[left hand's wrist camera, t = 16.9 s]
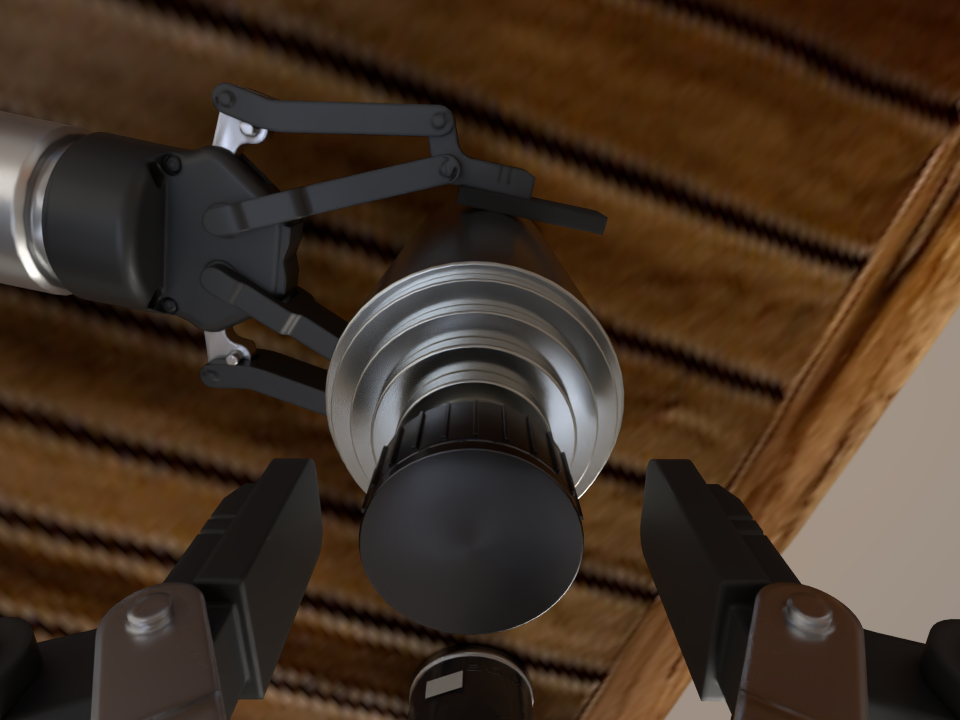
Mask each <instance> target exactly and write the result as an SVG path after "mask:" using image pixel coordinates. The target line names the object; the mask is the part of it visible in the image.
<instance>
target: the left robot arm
mask: <svg viewBox="0 0 960 720" xmlns="http://www.w3.org/2000/svg"><path fill="white" fill-rule="evenodd" d="M640 535H641V545H642V551H643V555H644V558H645V560H646V563H647V565H648V568H649V570H650V573H651V576H652V578H653V581H654V583H655V586H656V588H657V591H658V593H659V596H660V598H661V601H662V603H663V606H664V608H665V611H666V613H667V616H668V618H669V621H670V623H671V626H672V628H673V631H674V633H675V636H676V639H677V641H678V644H679V646H680V649H681V651H682V654H683V656H684V659H685V661H686V664H687V666H688V669H689V671H690V674H691V676H692V679H693V681H694V684H695V686H696V689H697V691H698V694H699V697H700V699H701V701H726V703H727V705H728V707H729V709H730V712H731V714H732V716H731V720H960V619H949V620H943V621H940V622H937V623H936V624H935V625H933V627H932V628H931V630H930V632H929V635H928V638H927V641H926V644H924V643H919V642H915V641H911V640H906V639H902V638H898V637H894V636H889V635H885V634H880V633H876V632H873V631H869V630H865V629H863V628H862V625H861V623H860V621H859V620H858V618H857V617H856V616H855V614H854V613H853V612H852V611H851V610H850V609H849V608H848V607H846V606H845V605H844V604H843V603H842V602H840V601H839V600H837V599H836V598H834V597H832V596H831V595H829V594H827V593H825V592H823V591H821V590H818V589H816V588H813V587H810V586H806V585H803V584H801V583H800V581H799V580H798V579H797V577H796V576H795V575H794V573H793V572H792V570H791V569H790V568H789V566H788V565H787V564H786V562H785V561H784V559H783V558H782V557H781V555H780V554H779V553H778V551H777V550H776V548H775V547H774V546H773V544H772V543H771V542H770V540H769V539H768V537H767V536H766V535H763V531H762V529H761V528H760V526H759V525H758V524H757V522H756V521H755V520H753V519H752V516H751V514H750V513H749V511H748V510H747V509H746V507H745V506H744V505H743V503H742V502H741V500H740V499H739V498H737V497H736V496H734V495H733V494H731V493H730V492H729V491H727V490H726V489H724V488H723V487H721V486H720V485H718V484H706V483H705V481H704V480H703V478H702V477H701V475H700V474H699V472H698V470H697V469H696V467H695V466H694V464H693V463H692V462H691V461H690V460H688V459H652V460H650V461H649V464H648V467H647V473H646V482H645V490H644V499H643V508H642V517H641V527H640ZM321 544H322V517H321V508H320V499H319V490H318V481H317V472H316V466H315V463H314V461H313V459H273V460H272V461H271V463H270V464H269V466H268V467H267V469H266V470H265V472H264V473H263V475H262V476H261V478H260V479H259V481H258V482H257V483H245V484H244V485H242V486H241V487H239V488H238V489H237V490H235V491H234V492H232V493H231V494H229V495H228V496H227V497H225V498H224V499H223V500H222V502H221V503H220V504H219V506H218V507H217V509H216V510H215V511H214V513H213V514H212V516H211V519H209V520H208V521H207V522H206V524H205V525H204V527H203V528H202V529H201V533H200V534H198V535H197V536H196V538H195V539H194V541H193V542H192V543H191V545H190V546H189V547H188V549H187V550H186V552H185V553H184V554H183V556H182V557H181V559H180V560H179V561H178V563H177V564H176V565H175V567H174V568H173V570H172V571H171V572H170V574H169V575H168V577H167V578H166V579H165V581H164V582H163V583H162V584H157V585H154V586H150V587H147V588H144V589H142V590H139V591H137V592H135V593H133V594H131V595H129V596H128V597H126V598H124V599H123V600H121V601H120V602H118V603H117V604H116V605H115V606H114V607H112V608H111V609H110V610H109V611H108V612H107V613H106V614H105V616H104V617H103V618H102V620H101V621H100V623H99V625H98V627H97V629H94V630H90V631H86V632H82V633H77V634H73V635H69V636H64V637H60V638H56V639H51V640H47V641H43V642H38V643H37V641H36V639H35V636H34V633H33V630H32V627H31V626H30V624H29V623H28V622H26V621H25V620H22V619H20V618H14V617H1V618H0V720H230V718H231V716H232V713H233V711H234V709H235V706H236V704H237V702H238V699H263V698H264V695H265V693H266V690H267V687H268V685H269V682H270V680H271V677H272V675H273V672H274V670H275V667H276V664H277V662H278V659H279V657H280V654H281V652H282V649H283V646H284V644H285V641H286V639H287V636H288V634H289V631H290V629H291V626H292V623H293V621H294V618H295V616H296V613H297V611H298V608H299V605H300V603H301V600H302V598H303V595H304V593H305V590H306V588H307V585H308V582H309V580H310V577H311V575H312V572H313V570H314V567H315V565H316V562H317V559H318V557H319V553H320V549H321ZM408 720H534V715H533V690H532V683H531V680H530V677H529V675H528V673H527V671H526V670H525V669H524V667H523V666H522V665H521V664H520V663H519V662H518V661H517V660H515V659H514V658H513V657H511V656H509V655H508V654H506V653H504V652H502V651H499V650H496V649H493V648H489V647H484V646H474V645H467V646H458V647H453V648H449V649H446V650H443V651H441V652H438V653H436V654H434V655H433V656H431V657H430V658H428V659H427V660H426V661H424V662H423V663H422V664H421V665H420V667H419V668H418V669H417V671H416V672H415V674H414V676H413V678H412V681H411V686H410V694H409V713H408Z"/></svg>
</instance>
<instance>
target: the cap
mask: <svg viewBox="0 0 960 720" xmlns="http://www.w3.org/2000/svg"><path fill="white" fill-rule="evenodd" d="M361 512H363V513H364V514H363V517H362V520H361V524H360V531H359V550H360V556H361V561H362V564H363V567H364V570H365V572H366V574H367V576H368V578H369V580H370V582H371V584H372V585H373V587H374V588H375V590H376V591H377V592H378V594H379V595H380V596H381V597H382V598H383V599H384V600H385V601H386V602H387V603H388V604H389V605H390V606H391V607H393V608H394V609H395V610H396V611H398V612H399V613H401V614H402V615H404V616H405V617H407V618H409V619H410V620H412V621H414V622H416V623H418V624H421V625H423V626H426V627H429V628H431V629H435V630H439V631H443V632H448V633H454V634H466V635H478V634H490V633H496V632H501V631H505V630H509V629H513V628H515V627H518V626H521V625H523V624H526V623H527V622H529V621H531V620H533V619H535V618H537V617H539V616H540V615H542V614H543V613H545V612H546V611H548V610H549V609H550V608H551V607H552V606H553V605H555V604H556V603H557V602H558V601H559V600H560V599H561V597H562V596H563V595H564V594H565V593H566V592H567V590H568V589H569V587H570V586H571V584H572V583H573V581H574V579H575V577H576V575H577V573H578V570H579V567H580V564H581V561H582V556H583V549H584V534H583V528H582V522H581V520H583V515H582V511H581V507H580V504H579V500H578V496H577V493H576V489H575V485H574V482H573V478H572V475H571V473H570V469H569V465H568V462H567V458H566V454H565V452H562V453H561V451H560V449H559V447H558V445H557V444H556V443H555V441H554V440H553V436H552V433H551V432H550V431H549V432H546V430H545V429H544V428H543V427H541V426H540V425H539V424H538V423H536V422H535V421H534V420H532V416H530V415H528V416H526V415H525V414H523V413H520V412H518V411H516V410H514V409H511V408H508V407H507V405H506V404H502V405H499V404H495V403H488V402H479V400H476V399H475V400H474V401H464V402H463V401H461V402H456V403H451V404H450V402H446V405H443V406H439V407H436V408H433V409H430V410H428V411H426V412H424V411H421V412H420V413H419V416H417V417H415V418H414V419H412V420H411V421H409V422H408V423H407V424H406V425H405V426H403V427H402V426H400V427H399V428H398V430H397V433H396V435H395V436H394V437H393V438H392V440H391V441H390V442H389V444H388V445H387V446H385V445H384V447H383V449H382V452H381V455H380V458H379V461H378V464H377V467H376V468H375V469H374V472H373V475H372V478H371V481H370V484H369V488H368V491H367V494H366V497H365V500H364V503H363V506H362V509H361Z"/></svg>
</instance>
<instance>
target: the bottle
mask: <svg viewBox="0 0 960 720" xmlns="http://www.w3.org/2000/svg"><path fill="white" fill-rule="evenodd" d="M456 203H457V199H454V200H451V201H449V202H447V203H445V204H443V205H441V206H440V207H438V208H437V209H436V210H434V211H433V212H432V213H431V214H430V215H429V216H428V217H427V218H426V219H425V220H424V221H423V222H422V224H421V225H420V226H419V228H418V229H417V230H416V232H415V233H414V234H413V236H412V237H411V239H410V240H409V241H408V243H407V244H406V245H405V247H404V248H403V249H402V251H401V252H400V253H399V255H398V256H397V257H396V259H395V260H394V262H393V263H392V264H391V266H390V267H389V268H388V270H387V271H386V272H385V274H384V275H383V276H382V278H381V279H380V281H379V282H378V283H377V285H376V286H375V287H374V289H373V290H372V291H371V293H370V294H369V295H368V297H367V298H366V300H365V301H364V302H363V304H362V305H361V306H360V308H359V309H358V310H357V312H356V313H355V314H354V316H353V317H352V318H351V320H350V321H349V323H348V324H347V326H346V328H345V329H344V331H343V332H342V334H341V336H340V337H339V339H338V342H337V344H336V346H335V349H334V351H333V353H332V356H331V360H330V363H329V367H328V371H327V376H326V386H325V410H326V415H327V421H328V427H329V430H330V433H331V436H332V439H333V442H334V445H335V447H336V449H337V451H338V453H339V455H340V457H341V459H342V461H343V463H344V464H345V466H346V468H347V469H348V471H349V472H350V474H351V475H352V477H353V478H354V480H355V481H356V483H357V484H358V485H359V486H360V487H361V489H362V490H363V491H364V492H365V493H366V494H367V491H368V488H369V484H370V481H371V478H372V475H373V472H374V469H375V468H376V467H377V464H378V461H379V458H380V455H381V452H382V449H383V447H384V445H385V446H387V445H388V444H389V442H390V441H391V440H392V438H393V437H394V436H395V435H396V433H397V430H398V428H399V427H400V426H402V427H403V426H405V425H406V424H407V423H408V422H409V421H411V420H412V419H414V418H415V417H417V416H419V413H420V412H421V411H424V412H426V411H428V410H430V409H433V408H436V407H439V406H443V405H446V402H450V404H451V403H456V402H461V401H463V402H464V401H474V400H475V399H476V400H479V402H488V403H495V404H499V405H502V404H506V405H507V407H508V408H511V409H514V410H516V411H518V412H520V413H523V414H525V415H526V416H528V415H530V416H532V420H534V421H535V422H536V423H538V424H539V425H540V426H541V427H543V428H544V429H545V430H546V432H549V431H550V432H551V433H552V436H553V440H554V441H555V443H556V444H557V445H558V447H559V449H560V451H561V453H562V452H565V454H566V458H567V462H568V465H569V469H570V473H571V475H572V478H573V482H574V485H575V489H576V493H577V496H578V499H579V498H580V497H581V496H582V495H583V494H584V493H585V491H586V490H587V489H588V488H589V487H590V486H591V484H592V483H593V482H594V481H595V479H596V477H597V476H598V475H599V473H600V472H601V470H602V468H603V467H604V465H605V464H606V462H607V461H608V459H609V457H610V455H611V452H612V450H613V448H614V446H615V444H616V441H617V438H618V435H619V431H620V428H621V424H622V418H623V412H624V384H623V376H622V371H621V367H620V364H619V360H618V356H617V353H616V351H615V349H614V347H613V344H612V342H611V340H610V338H609V336H608V334H607V333H606V331H605V330H604V328H603V327H602V325H601V323H600V322H599V320H598V319H597V317H596V316H595V314H594V313H593V311H592V310H591V308H590V307H589V305H588V304H587V302H586V301H585V299H584V298H583V296H582V295H581V293H580V292H579V290H578V289H577V287H576V286H575V284H574V283H573V281H572V280H571V278H570V277H569V275H568V274H567V272H566V271H565V269H564V267H563V266H562V264H561V263H560V261H559V260H558V258H557V257H556V255H555V254H554V252H553V251H552V249H551V248H550V246H549V245H548V243H547V242H546V240H545V239H544V237H543V236H542V234H541V233H540V231H539V230H538V228H537V227H536V225H535V224H534V223H533V221H532V220H530V219H526V218H521V217H516V216H511V215H507V214H502V213H497V212H492V211H488V210H483V209H478V208H474V207H469V206H464V205H459V204H456Z"/></svg>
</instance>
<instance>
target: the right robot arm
mask: <svg viewBox="0 0 960 720" xmlns="http://www.w3.org/2000/svg"><path fill="white" fill-rule="evenodd" d="M212 101H213V104H214V106H215V107H216V109H217V110H218V111H220V113H219V118H218V122H217V127H216V131H215V136H214V141H213V145H211V146H206V147H203V148H200V149H197V150H186V149H181V148H176V147H172V146H167V145H162V144H157V143H153V142H148V141H143V140H138V139H134V138H129V137H124V136H119V135H115V134H110V133H104V132H96V133H90V132H88V131H86V130H85V129H83V128H81V127H77V126H72V125H67V124H62V123H58V122H53V121H48V120H43V119H38V118H33V117H28V116H24V115H19V114H14V113H9V112H4V111H0V283H3V284H8V285H13V286H17V287H22V288H27V289H32V290H37V291H42V292H47V293H51V294H58V295H70V294H74V295H75V296H77V297H79V298H82V299H85V300H90V301H96V302H101V303H106V304H111V305H116V306H122V307H127V308H132V309H137V310H143V311H148V312H154V313H161V314H170V315H176V316H179V317H181V318H183V319H185V320H187V321H189V322H190V323H192V324H193V325H194V326H196V327H197V328H199V329H201V330H203V331H204V332H205V340H206V347H207V354H208V363H207V364H206V365H205V366H204V367H202V369H201V371H200V378H201V380H202V382H203V383H204V384H205V385H207V386H209V387H213V388H240V389H251V390H254V391H257V392H260V393H262V394H265V395H268V396H271V397H274V398H277V399H280V400H282V401H285V402H288V403H291V404H294V405H297V406H300V407H302V408H305V409H308V410H311V411H314V412H317V413H320V414H322V415H325V416H327V415H326V410H325V386H326V376H327V371H328V370H325V369H322V368H319V367H317V366H314V365H311V364H308V363H306V362H303V361H300V360H297V359H294V358H292V357H289V356H286V355H283V354H280V353H277V352H274V351H269V350H264V349H256V345H255V342H254V341H252V340H249V339H246V338H242V337H240V336H238V335H237V334H236V333H235V332H234V330H233V327H232V326H234V325H236V324H238V323H241V322H243V321H245V320H247V319H249V318H251V317H252V318H254V319H256V320H257V321H259V322H260V323H262V324H264V325H265V326H267V327H268V328H270V329H272V330H273V331H275V332H277V333H279V334H283V335H289V336H291V337H293V338H295V339H296V340H298V341H299V342H301V343H303V344H304V345H306V346H307V347H309V348H311V349H312V350H314V351H315V352H317V353H318V354H320V355H322V356H323V357H325V358H326V359H328V360H331V356H332V353H333V351H334V349H335V346H336V344H337V342H338V339H339V337H340V336H341V334H342V332H343V331H344V329H345V328H346V326H347V324H348V322H346V321H345V320H343V319H342V318H340V317H339V316H337V315H336V314H334V313H333V312H331V311H329V310H328V309H326V308H325V307H323V306H322V305H320V304H319V303H317V302H316V301H315V300H314V298H313V296H312V295H311V294H309V293H308V292H307V291H305V290H304V289H302V288H301V287H299V286H297V284H298V274H299V267H298V261H297V255H296V252H297V249H298V246H299V244H300V241H301V239H302V233H303V223H304V221H300V218H303V217H307V216H310V215H314V214H319V213H323V212H327V211H332V210H336V209H340V208H345V207H349V206H354V205H358V204H362V203H367V202H371V201H375V200H380V199H384V198H388V197H393V196H397V195H402V194H406V193H410V192H415V191H419V190H423V189H428V188H432V187H437V186H441V185H445V184H453V185H458V186H460V187H459V193H458V198H457V203H456V204H459V205H464V206H469V207H474V208H478V209H483V210H488V211H492V212H497V213H502V214H507V215H511V216H516V217H521V218H526V219H530V220H535V221H540V222H545V223H549V224H554V225H559V226H564V227H568V228H573V229H578V230H583V231H587V232H592V233H597V234H602V235H603V233H604V229H605V225H606V222H607V218H608V217H606V216H604V215H602V214H601V213H599V212H597V211H595V210H590V209H585V208H581V207H576V206H571V205H567V204H562V203H557V202H553V201H548V200H543V199H539V198H534V197H531V195H532V190H533V186H534V181H535V177H534V176H533V175H531V174H530V173H528V172H527V171H525V170H524V169H521V168H516V167H512V166H507V165H502V164H498V163H493V162H489V161H484V160H479V159H475V158H471V157H468V156H467V155H466V154H464V153H463V151H462V150H461V148H460V146H459V142H458V135H457V128H456V121H455V117H454V115H453V113H452V112H451V111H450V110H449V109H448V108H446V107H445V106H442V105H425V104H388V103H351V102H314V101H280V100H278V99H275V98H273V97H270V96H268V95H265V94H263V93H260V92H258V91H256V90H253V89H250V88H246V87H241V86H237V85H233V84H228V83H221V84H218V85H217V86H216V87H215V88H214V90H213V92H212ZM274 131H276V132H289V133H313V134H351V135H388V136H426V137H428V140H429V146H430V152H431V157H428V158H424V159H420V160H415V161H411V162H407V163H403V164H398V165H394V166H390V167H385V168H381V169H377V170H372V171H368V172H364V173H360V174H355V175H351V176H347V177H342V178H338V179H334V180H330V181H325V182H321V183H317V184H312V185H308V186H304V187H299V188H295V189H291V190H286V191H282V192H281V191H280V190H279V189H278V188H277V187H276V186H275V185H274V184H273V183H272V182H271V181H270V180H269V179H268V178H267V177H266V176H265V175H264V174H263V173H262V172H261V171H260V170H259V169H258V168H257V167H256V166H255V165H254V164H253V163H252V162H251V161H250V160H249V159H248V158H247V157H246V156H245V155H244V154H243V152H244V149H245V148H246V147H247V146H248V145H249V144H252V143H253V144H264V143H267V142H269V141H270V140H271V139H272V137H273V135H274Z"/></svg>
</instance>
